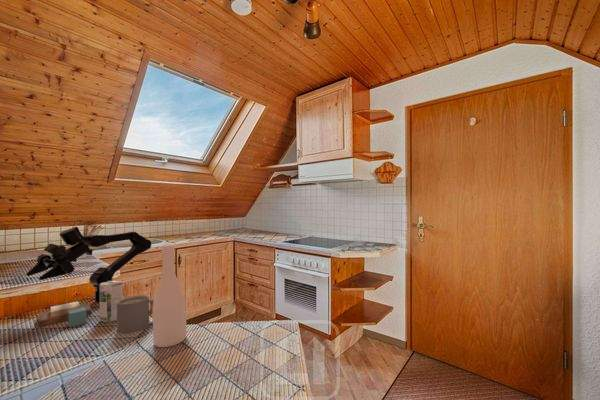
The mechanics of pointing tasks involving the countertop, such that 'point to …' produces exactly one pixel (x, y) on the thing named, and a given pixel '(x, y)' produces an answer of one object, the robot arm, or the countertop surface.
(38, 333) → the countertop surface
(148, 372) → the countertop surface
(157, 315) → the wine bottle
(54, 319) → the stacking base
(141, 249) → the robot arm
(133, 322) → the coffee mug
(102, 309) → the syrup box
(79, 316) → the teal cube
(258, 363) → the countertop surface
